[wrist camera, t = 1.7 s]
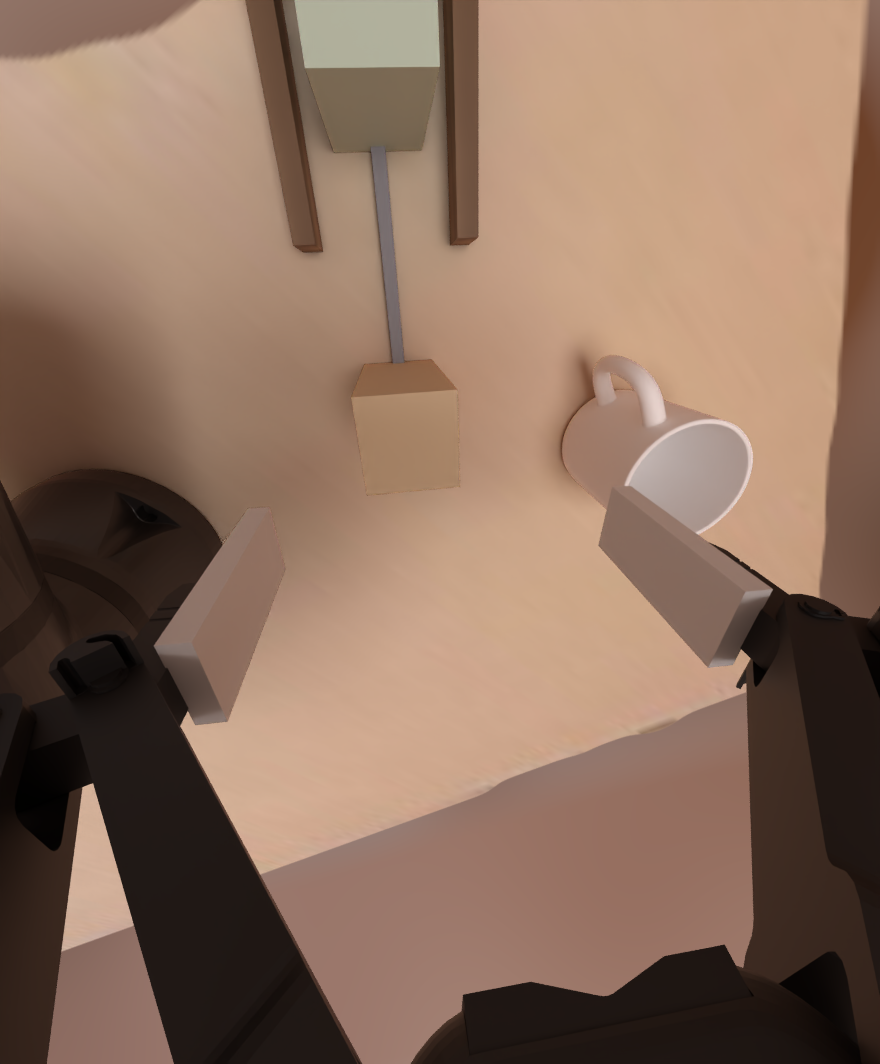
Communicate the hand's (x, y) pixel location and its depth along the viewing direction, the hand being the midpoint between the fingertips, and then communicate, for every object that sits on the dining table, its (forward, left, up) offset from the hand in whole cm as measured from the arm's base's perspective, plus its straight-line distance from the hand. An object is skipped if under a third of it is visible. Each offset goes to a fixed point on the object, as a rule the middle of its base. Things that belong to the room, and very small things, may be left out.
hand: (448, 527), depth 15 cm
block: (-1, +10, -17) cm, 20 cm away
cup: (+15, -1, -17) cm, 23 cm away
